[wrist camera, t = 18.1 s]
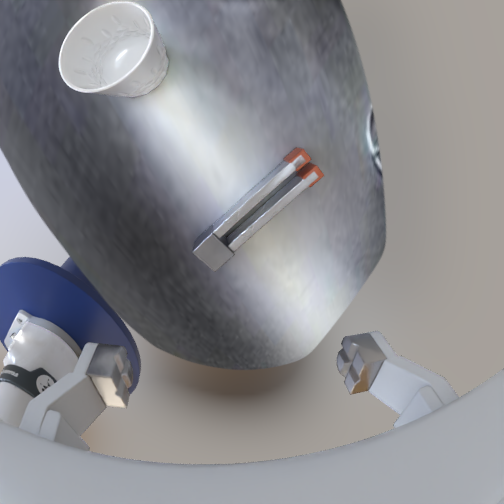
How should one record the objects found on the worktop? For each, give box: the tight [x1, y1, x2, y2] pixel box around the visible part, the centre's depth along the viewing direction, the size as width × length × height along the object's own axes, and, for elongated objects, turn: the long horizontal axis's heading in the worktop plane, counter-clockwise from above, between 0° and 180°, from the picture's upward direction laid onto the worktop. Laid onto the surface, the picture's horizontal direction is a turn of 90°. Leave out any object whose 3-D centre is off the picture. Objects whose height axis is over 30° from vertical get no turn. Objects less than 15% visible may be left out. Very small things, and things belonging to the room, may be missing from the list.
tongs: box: [192, 148, 324, 272], centre depth 28 cm, size 16×4×3 cm, turn 132°
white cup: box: [59, 1, 169, 97], centre depth 17 cm, size 8×8×10 cm
